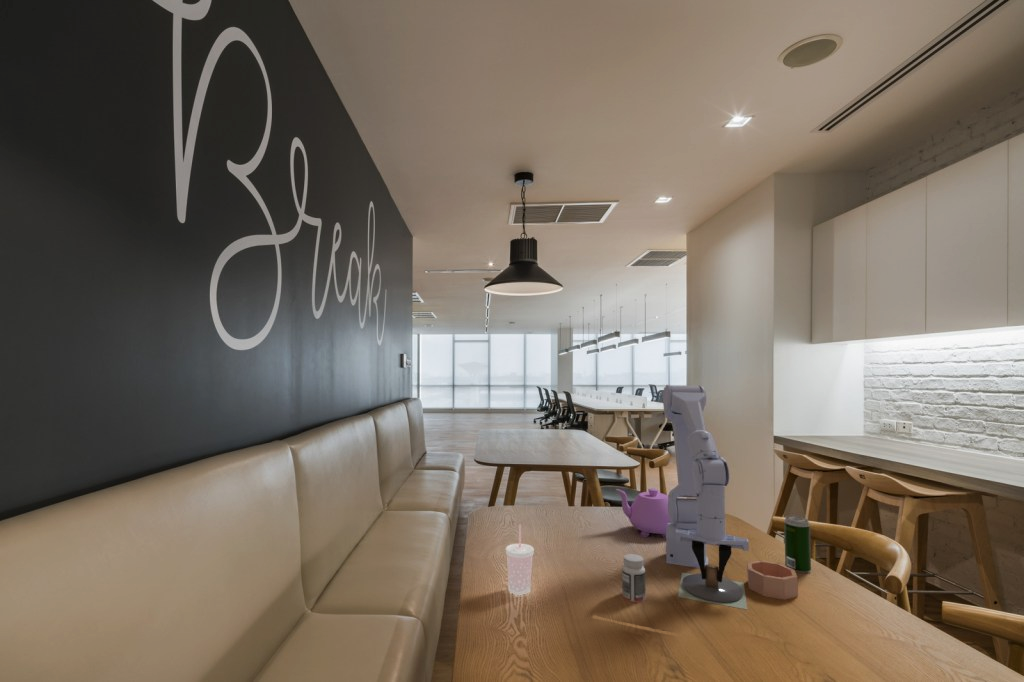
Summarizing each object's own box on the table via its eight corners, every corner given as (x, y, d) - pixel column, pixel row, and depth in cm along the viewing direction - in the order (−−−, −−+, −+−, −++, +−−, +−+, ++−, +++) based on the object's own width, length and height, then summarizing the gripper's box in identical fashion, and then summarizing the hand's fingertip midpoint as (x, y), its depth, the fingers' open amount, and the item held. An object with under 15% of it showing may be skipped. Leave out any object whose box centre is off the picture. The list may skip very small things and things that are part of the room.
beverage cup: (512, 582, 106) (513, 518, 107) (538, 588, 103) (538, 522, 104) (500, 594, 101) (500, 526, 102) (526, 600, 98) (527, 531, 99)
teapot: (618, 538, 135) (618, 493, 136) (613, 522, 149) (613, 482, 150) (691, 542, 132) (691, 496, 133) (679, 526, 146) (679, 484, 147)
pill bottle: (646, 595, 101) (646, 554, 101) (644, 605, 96) (644, 563, 97) (623, 591, 102) (623, 551, 103) (621, 601, 98) (620, 559, 99)
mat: (678, 598, 99) (678, 596, 99) (682, 574, 111) (682, 572, 111) (747, 612, 94) (747, 609, 94) (743, 585, 106) (743, 582, 106)
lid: (680, 596, 100) (680, 572, 100) (684, 573, 111) (683, 552, 111) (744, 607, 95) (744, 583, 95) (741, 583, 106) (740, 561, 106)
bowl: (749, 595, 101) (749, 574, 101) (746, 578, 110) (746, 558, 110) (800, 604, 97) (799, 582, 98) (793, 585, 106) (792, 565, 106)
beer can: (804, 576, 111) (803, 524, 112) (780, 568, 115) (779, 518, 116) (815, 571, 114) (814, 520, 115) (792, 563, 118) (790, 514, 119)
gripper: (674, 515, 103) (675, 580, 102) (749, 524, 97) (750, 593, 96) (676, 507, 109) (677, 567, 109) (747, 515, 104) (748, 579, 103)
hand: (711, 578), depth 103 cm, fingers closed on lid, 3 cm apart
